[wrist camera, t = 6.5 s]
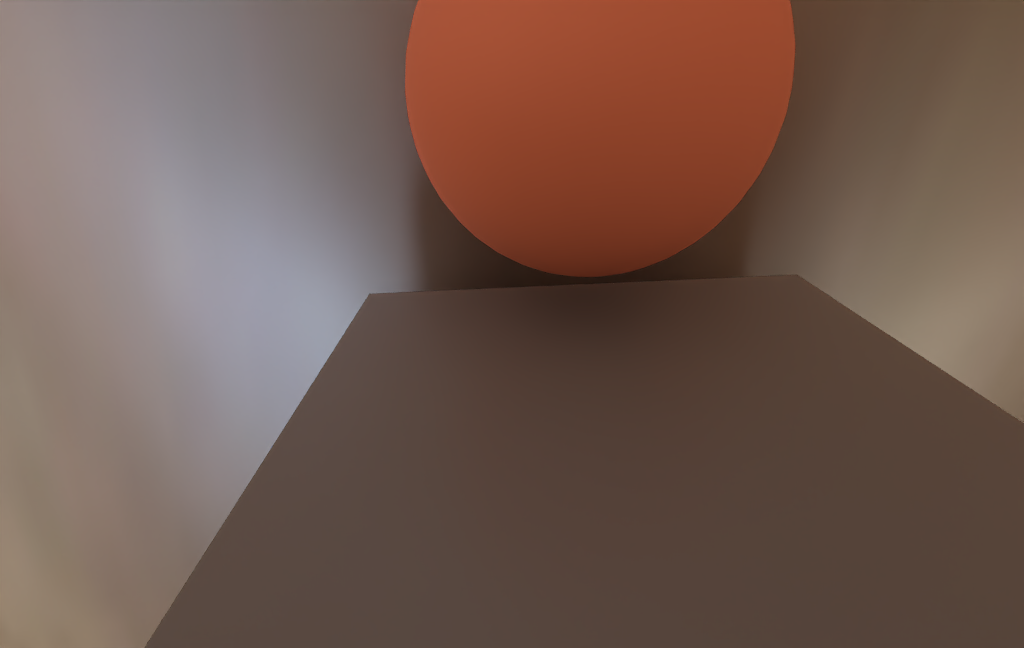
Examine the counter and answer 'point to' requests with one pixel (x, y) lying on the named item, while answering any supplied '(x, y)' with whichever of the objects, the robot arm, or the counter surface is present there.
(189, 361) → the counter surface
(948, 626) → the grey rectangular box
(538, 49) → the ball
